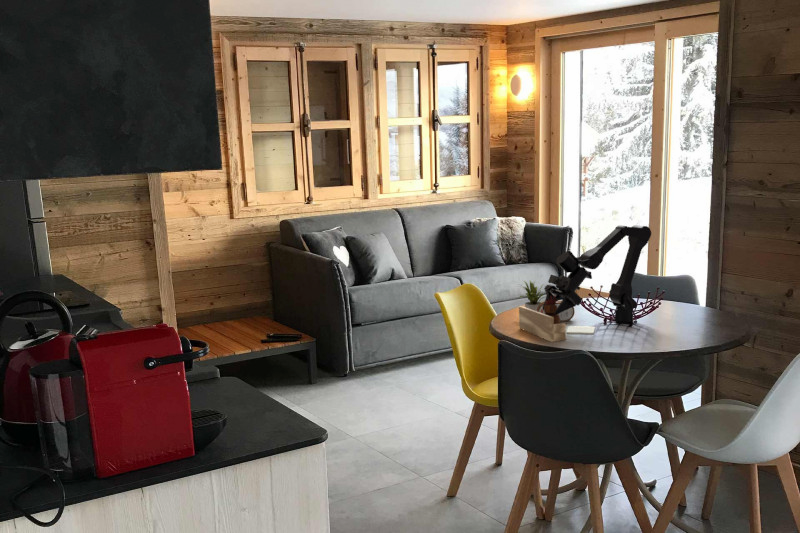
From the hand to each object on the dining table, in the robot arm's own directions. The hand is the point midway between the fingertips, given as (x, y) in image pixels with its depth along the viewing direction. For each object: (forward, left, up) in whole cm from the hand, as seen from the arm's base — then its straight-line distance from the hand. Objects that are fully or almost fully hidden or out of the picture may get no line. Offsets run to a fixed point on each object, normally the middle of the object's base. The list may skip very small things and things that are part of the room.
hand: (549, 311), depth 300 cm
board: (-11, -4, -8) cm, 15 cm away
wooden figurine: (0, 0, -9) cm, 9 cm away
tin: (0, -20, -9) cm, 22 cm away
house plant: (+11, -26, -9) cm, 30 cm away
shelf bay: (+3, +2, -8) cm, 9 cm away
